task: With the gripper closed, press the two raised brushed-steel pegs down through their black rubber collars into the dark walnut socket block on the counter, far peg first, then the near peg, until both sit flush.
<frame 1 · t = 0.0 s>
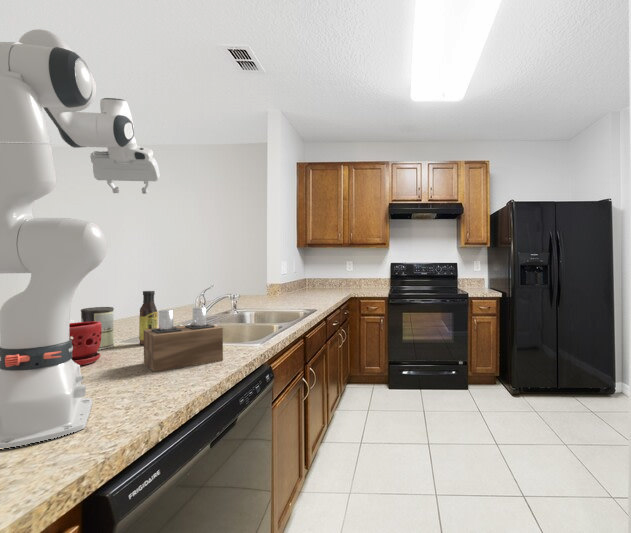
hand: (130, 193, 130), 54 cm above the worktop, tool tilted 30°, fingers open, 8 cm apart
coffee can: (98, 348, 136), on the worktop
near peg: (166, 327, 112), point 11 cm above the worktop, slide at 5.6 cm
plant pot: (77, 363, 115), on the worktop
sauce bottle: (148, 344, 142), on the worktop
socket block: (183, 361, 115), on the worktop
far peg: (199, 323, 118), point 11 cm above the worktop, slide at 5.6 cm
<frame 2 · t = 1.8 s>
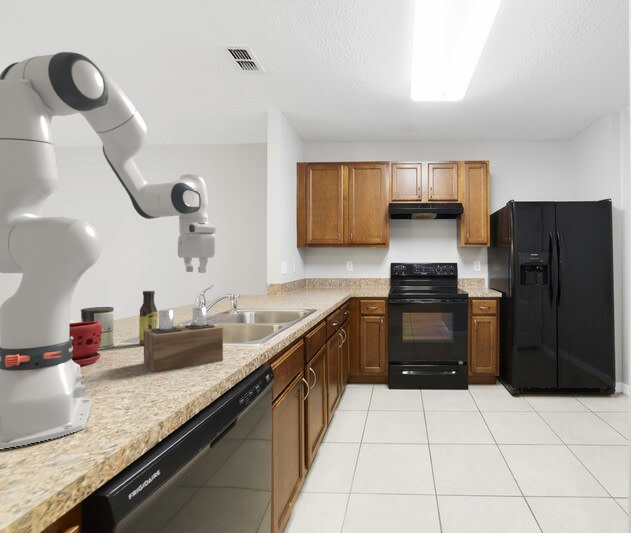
hand: (195, 272, 120), 27 cm above the worktop, tool pointing down, fingers open, 8 cm apart
nothing on the worktop moved.
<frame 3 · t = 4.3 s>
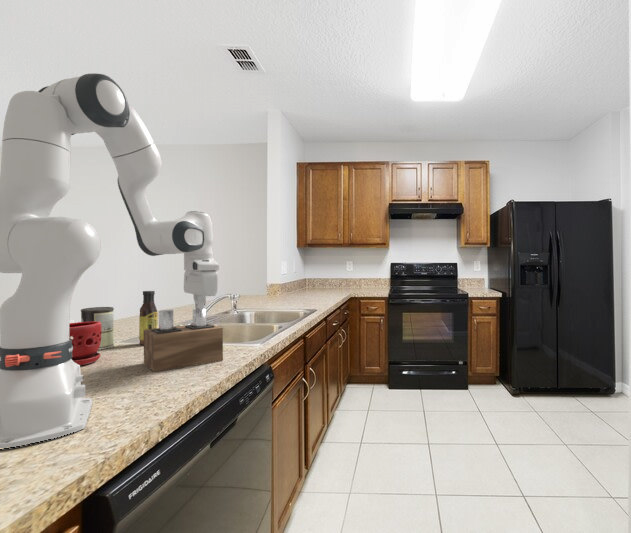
hand: (199, 309, 118), 16 cm above the worktop, tool pointing down, fingers closed, pressing on far peg
far peg: (199, 325, 118), point 11 cm above the worktop, slide at 5.2 cm, touching gripper
everything else where it was.
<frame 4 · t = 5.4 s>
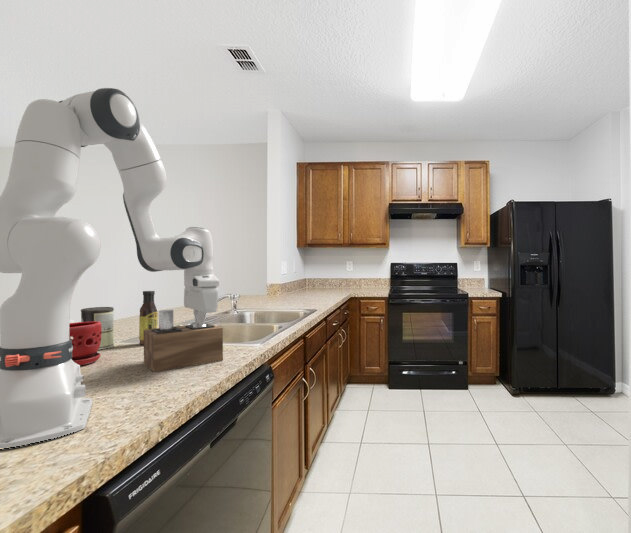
hand: (199, 324, 118), 11 cm above the worktop, tool pointing down, fingers closed, pressing on far peg
far peg: (199, 340, 118), point 6 cm above the worktop, slide at 0.4 cm, touching gripper
everything else where it was.
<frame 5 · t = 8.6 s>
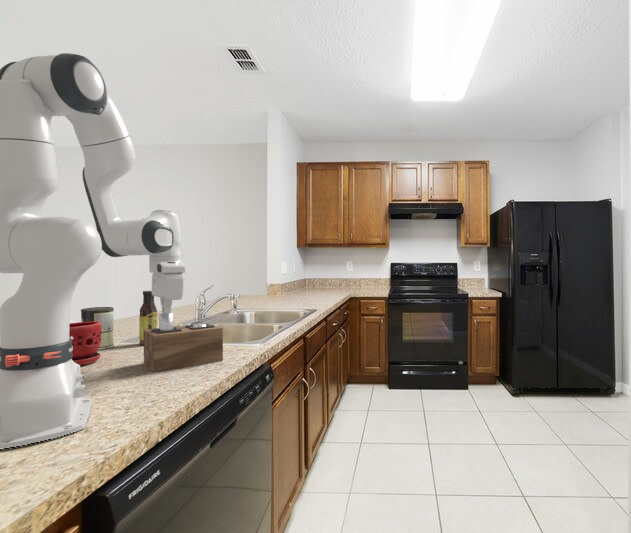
hand: (166, 313, 112), 15 cm above the worktop, tool pointing down, fingers closed, pressing on near peg
near peg: (166, 330, 112), point 10 cm above the worktop, slide at 4.7 cm, touching gripper
far peg: (199, 340, 118), point 6 cm above the worktop, slide at 0.3 cm
everything else where it was.
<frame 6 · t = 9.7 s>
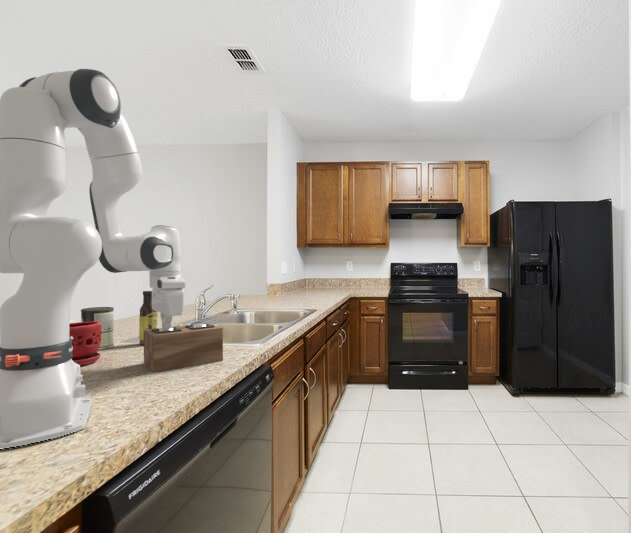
hand: (166, 328, 112), 11 cm above the worktop, tool pointing down, fingers closed, pressing on near peg
near peg: (166, 344, 112), point 6 cm above the worktop, slide at 0.4 cm, touching gripper
everything else where it was.
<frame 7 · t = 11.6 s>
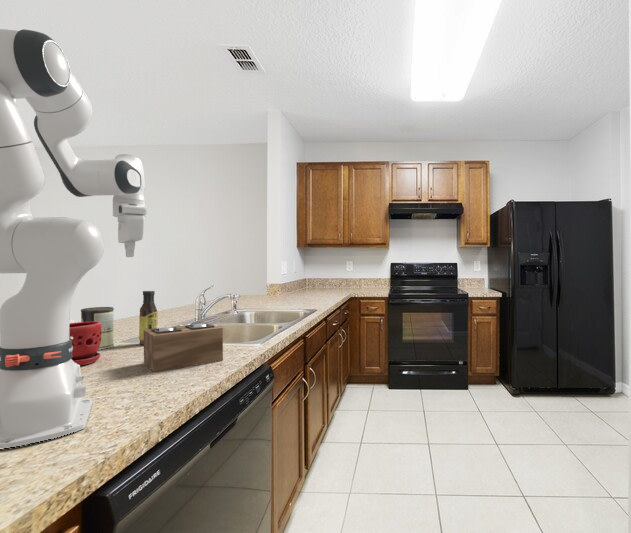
hand: (129, 257, 114), 32 cm above the worktop, tool pointing down, fingers closed
near peg: (166, 345, 112), point 6 cm above the worktop, slide at 0.3 cm
everything else where it was.
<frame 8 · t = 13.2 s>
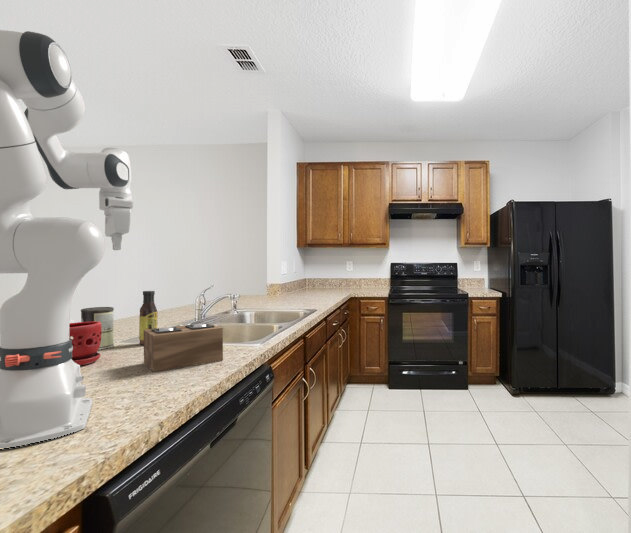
hand: (116, 250, 115), 34 cm above the worktop, tool pointing down, fingers closed
nothing on the worktop moved.
at the end: far peg slide at 0.3 cm; near peg slide at 0.3 cm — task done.
